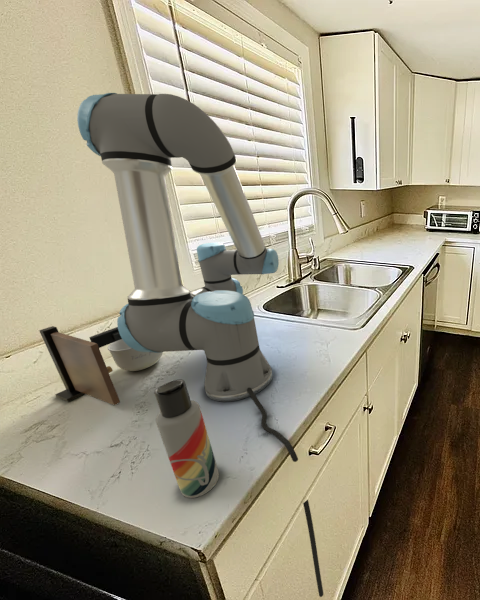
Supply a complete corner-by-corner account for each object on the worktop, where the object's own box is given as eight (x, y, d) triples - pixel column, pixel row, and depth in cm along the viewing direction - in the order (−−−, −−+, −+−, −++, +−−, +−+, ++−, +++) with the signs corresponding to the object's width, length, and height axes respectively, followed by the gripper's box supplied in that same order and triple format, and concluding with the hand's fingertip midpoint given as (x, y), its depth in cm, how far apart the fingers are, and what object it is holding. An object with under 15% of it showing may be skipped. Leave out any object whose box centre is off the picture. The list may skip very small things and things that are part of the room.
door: (75, 390, 78) (50, 333, 72) (87, 384, 80) (63, 329, 74) (114, 405, 72) (90, 346, 67) (126, 398, 74) (103, 340, 69)
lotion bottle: (193, 504, 52) (158, 401, 44) (173, 489, 54) (137, 389, 47) (226, 477, 56) (199, 380, 49) (206, 464, 59) (178, 370, 51)
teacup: (140, 378, 84) (130, 351, 81) (106, 373, 86) (95, 347, 83) (183, 351, 96) (176, 326, 94) (153, 347, 99) (145, 324, 96)
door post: (56, 397, 77) (25, 333, 71) (86, 383, 82) (60, 322, 76) (68, 402, 75) (38, 337, 69) (98, 387, 81) (73, 325, 74)
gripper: (210, 320, 92) (115, 363, 72) (180, 313, 97) (83, 351, 77) (204, 295, 89) (103, 333, 69) (173, 290, 94) (71, 323, 74)
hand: (93, 343), depth 73 cm, fingers closed
